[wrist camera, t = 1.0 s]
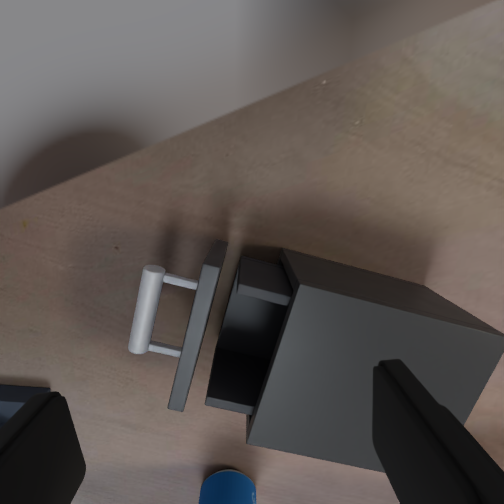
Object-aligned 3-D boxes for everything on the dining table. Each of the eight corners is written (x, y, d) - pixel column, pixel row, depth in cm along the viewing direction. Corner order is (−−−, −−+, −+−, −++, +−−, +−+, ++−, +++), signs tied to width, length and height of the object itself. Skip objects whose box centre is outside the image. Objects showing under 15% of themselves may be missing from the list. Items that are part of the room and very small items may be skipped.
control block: (-27, 382, 31) (-67, 412, 27) (50, 388, 31) (22, 417, 27) (-13, 471, 34) (-47, 509, 30) (57, 475, 34) (33, 513, 30)
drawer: (144, 338, 29) (106, 396, 21) (167, 225, 26) (134, 245, 18) (316, 378, 30) (340, 446, 22) (356, 275, 27) (398, 313, 20)
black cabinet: (246, 361, 31) (246, 444, 21) (281, 247, 28) (299, 283, 18) (377, 391, 32) (432, 483, 22) (424, 285, 29) (511, 338, 19)
